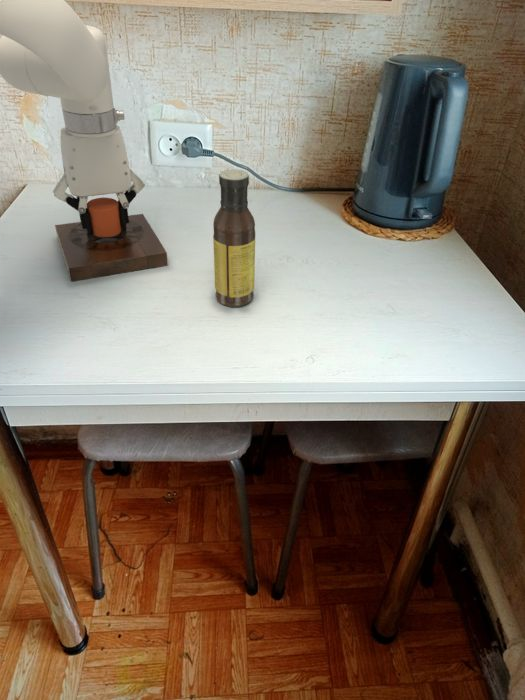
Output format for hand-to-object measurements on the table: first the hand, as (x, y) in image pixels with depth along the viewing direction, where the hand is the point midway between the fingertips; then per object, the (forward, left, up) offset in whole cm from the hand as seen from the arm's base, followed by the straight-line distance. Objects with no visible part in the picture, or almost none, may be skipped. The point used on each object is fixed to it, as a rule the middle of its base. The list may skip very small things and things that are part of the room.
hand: (106, 228), depth 90 cm
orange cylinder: (0, 0, 0) cm, 0 cm away
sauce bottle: (+15, -23, -4) cm, 28 cm away
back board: (0, -2, -3) cm, 4 cm away
